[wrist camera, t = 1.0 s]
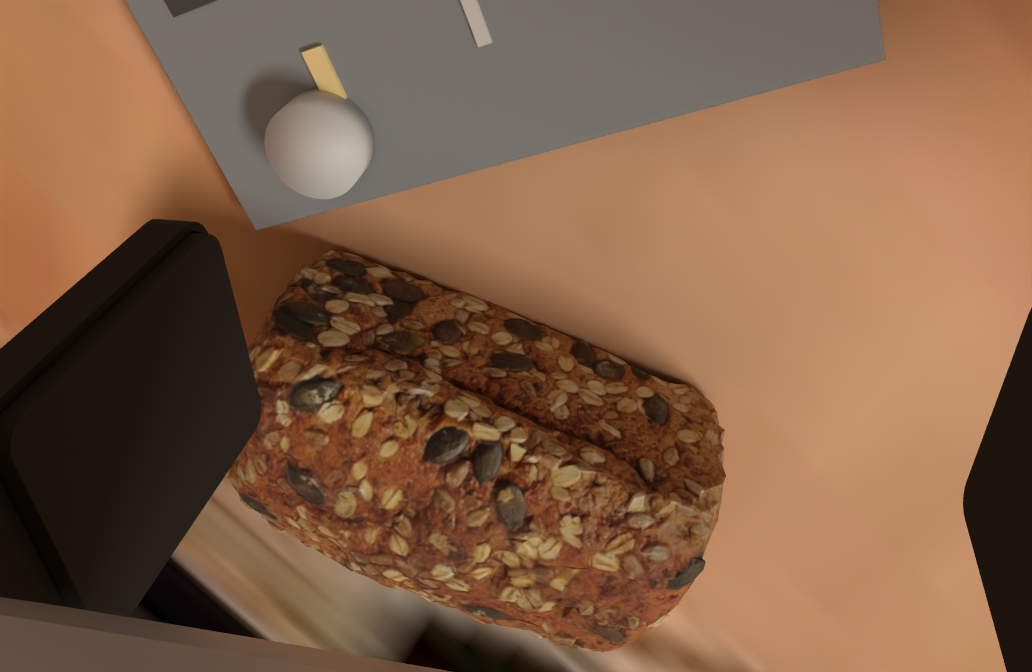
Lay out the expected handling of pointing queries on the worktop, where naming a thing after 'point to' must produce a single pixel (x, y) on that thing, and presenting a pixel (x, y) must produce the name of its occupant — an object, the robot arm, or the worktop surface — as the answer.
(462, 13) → the console
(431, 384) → the bread
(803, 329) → the worktop surface
